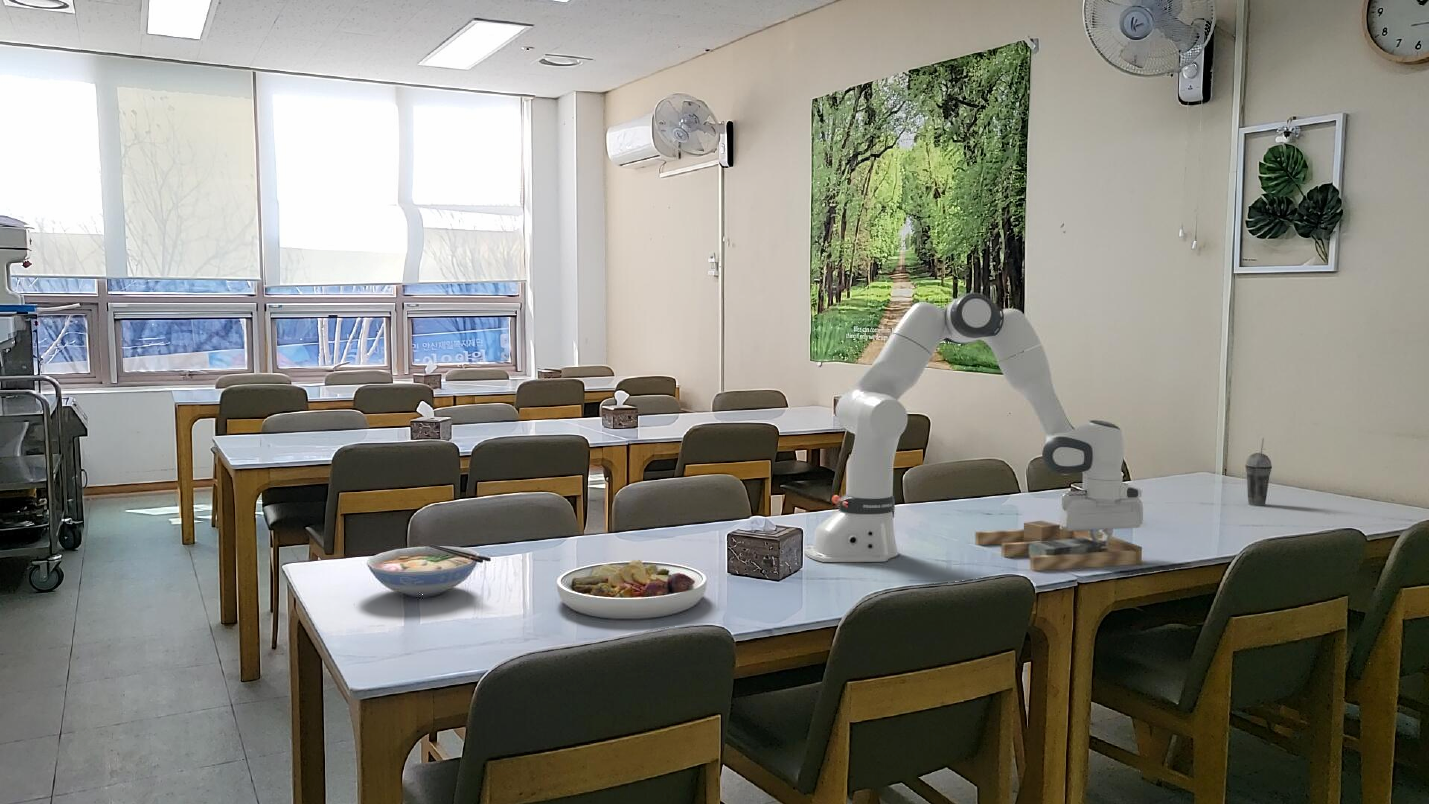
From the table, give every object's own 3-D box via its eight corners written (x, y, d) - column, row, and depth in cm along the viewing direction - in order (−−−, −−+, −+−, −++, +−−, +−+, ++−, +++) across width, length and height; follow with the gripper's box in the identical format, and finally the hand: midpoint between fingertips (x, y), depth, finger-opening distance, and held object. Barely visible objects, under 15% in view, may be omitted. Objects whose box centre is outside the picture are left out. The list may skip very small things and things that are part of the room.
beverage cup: (1237, 503, 329) (1240, 437, 327) (1257, 501, 331) (1260, 436, 329) (1256, 507, 322) (1259, 440, 320) (1276, 506, 324) (1279, 439, 322)
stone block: (1025, 561, 256) (1025, 539, 256) (1079, 557, 260) (1080, 535, 259) (1045, 569, 248) (1046, 547, 247) (1101, 565, 251) (1102, 543, 251)
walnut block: (1041, 551, 265) (1041, 527, 264) (1023, 546, 270) (1024, 522, 270) (1059, 548, 268) (1059, 524, 267) (1041, 544, 273) (1041, 520, 272)
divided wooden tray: (1033, 570, 245) (1034, 553, 245) (975, 543, 273) (975, 527, 273) (1141, 564, 252) (1142, 547, 251) (1073, 538, 279) (1074, 522, 279)
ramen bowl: (344, 591, 227) (343, 553, 226) (442, 572, 243) (441, 536, 242) (404, 616, 209) (403, 574, 208) (505, 594, 225) (504, 555, 224)
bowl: (525, 608, 216) (525, 569, 215) (620, 577, 241) (620, 542, 240) (646, 634, 199) (646, 591, 198) (734, 597, 224) (735, 559, 223)
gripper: (1069, 493, 251) (1067, 552, 252) (1148, 490, 255) (1145, 548, 257) (1055, 489, 257) (1053, 546, 258) (1131, 486, 261) (1129, 542, 263)
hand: (1100, 547), depth 257 cm, fingers closed
